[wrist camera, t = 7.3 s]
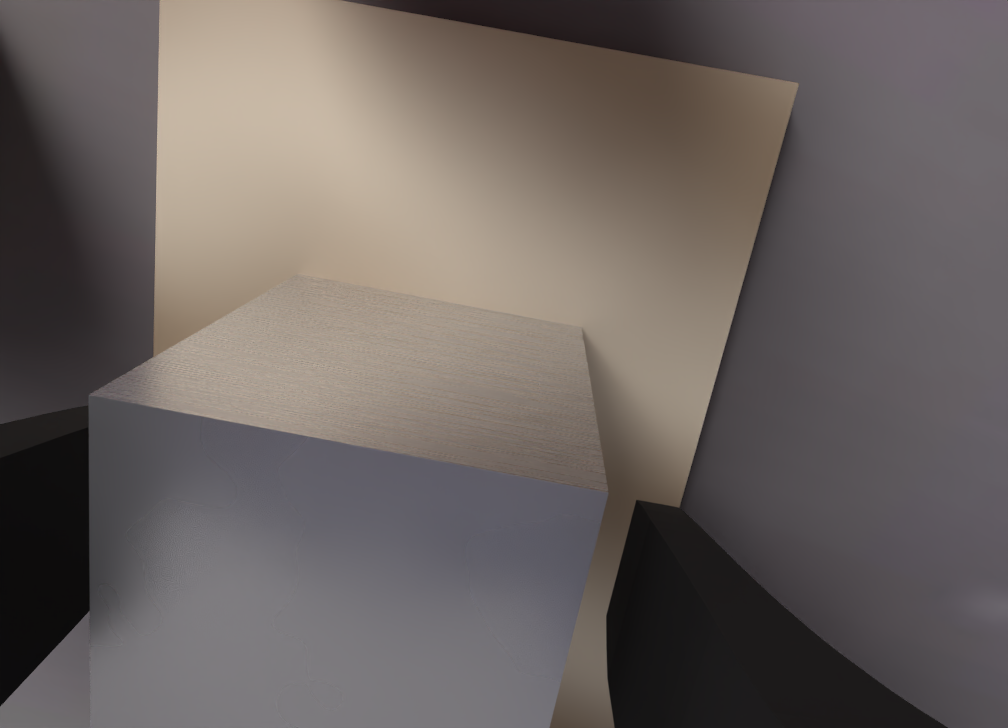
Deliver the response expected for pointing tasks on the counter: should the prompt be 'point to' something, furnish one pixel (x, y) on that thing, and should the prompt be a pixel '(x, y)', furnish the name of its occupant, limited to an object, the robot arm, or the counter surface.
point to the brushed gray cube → (342, 517)
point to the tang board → (475, 209)
